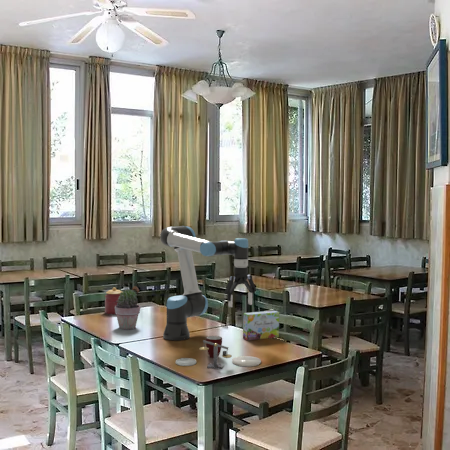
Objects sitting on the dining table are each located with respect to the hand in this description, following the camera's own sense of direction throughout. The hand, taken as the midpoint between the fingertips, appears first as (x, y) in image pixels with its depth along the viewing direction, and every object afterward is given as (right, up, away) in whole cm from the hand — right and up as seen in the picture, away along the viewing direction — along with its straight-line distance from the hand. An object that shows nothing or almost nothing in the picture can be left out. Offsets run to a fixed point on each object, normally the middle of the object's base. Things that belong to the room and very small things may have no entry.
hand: (240, 305), depth 312 cm
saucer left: (-27, -23, -33) cm, 49 cm away
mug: (-15, -23, -22) cm, 35 cm away
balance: (-13, -24, -39) cm, 48 cm away
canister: (-85, -17, +85) cm, 122 cm away
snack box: (+12, -22, +19) cm, 31 cm away
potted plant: (-69, -19, +39) cm, 81 cm away
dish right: (+2, -23, -31) cm, 39 cm away
